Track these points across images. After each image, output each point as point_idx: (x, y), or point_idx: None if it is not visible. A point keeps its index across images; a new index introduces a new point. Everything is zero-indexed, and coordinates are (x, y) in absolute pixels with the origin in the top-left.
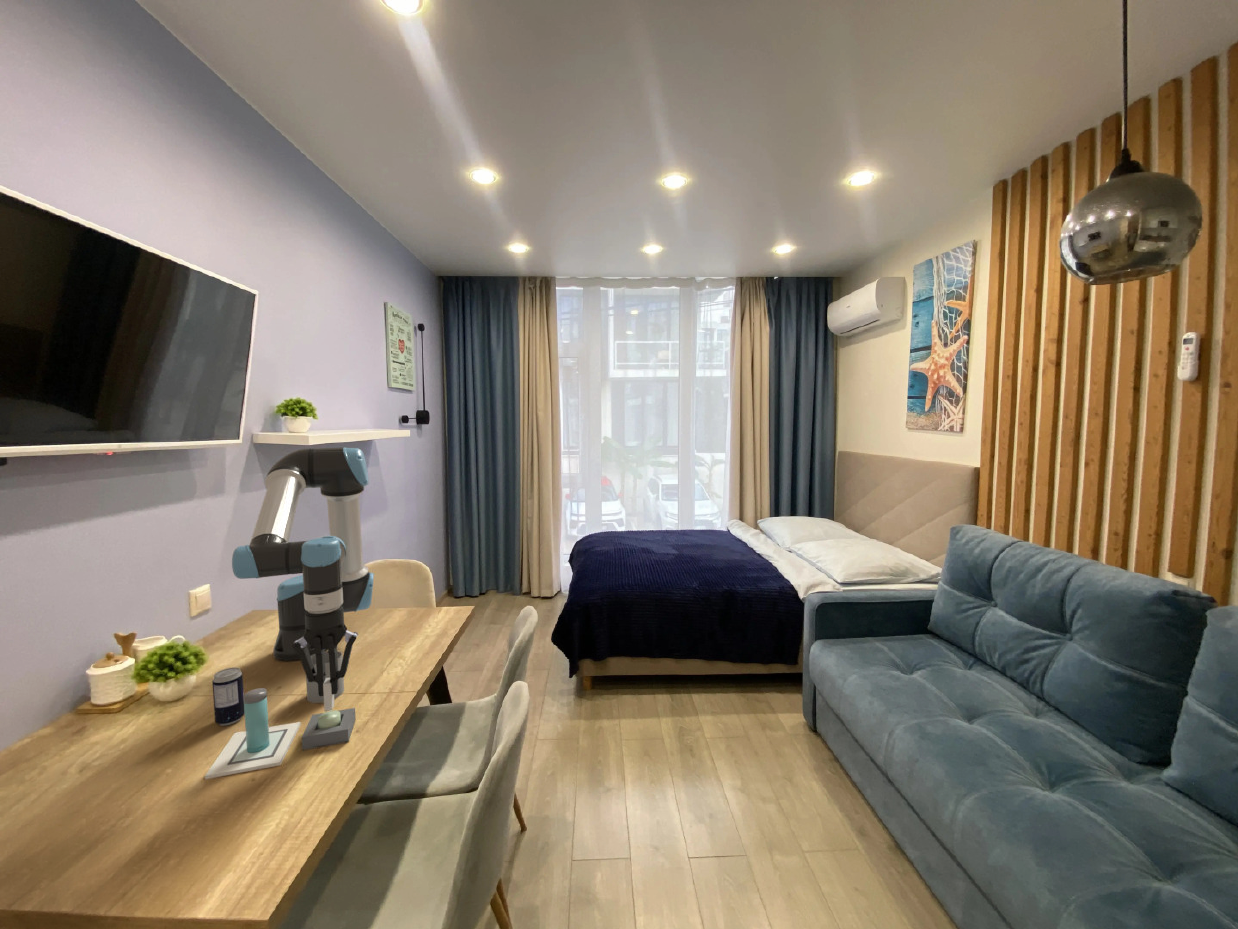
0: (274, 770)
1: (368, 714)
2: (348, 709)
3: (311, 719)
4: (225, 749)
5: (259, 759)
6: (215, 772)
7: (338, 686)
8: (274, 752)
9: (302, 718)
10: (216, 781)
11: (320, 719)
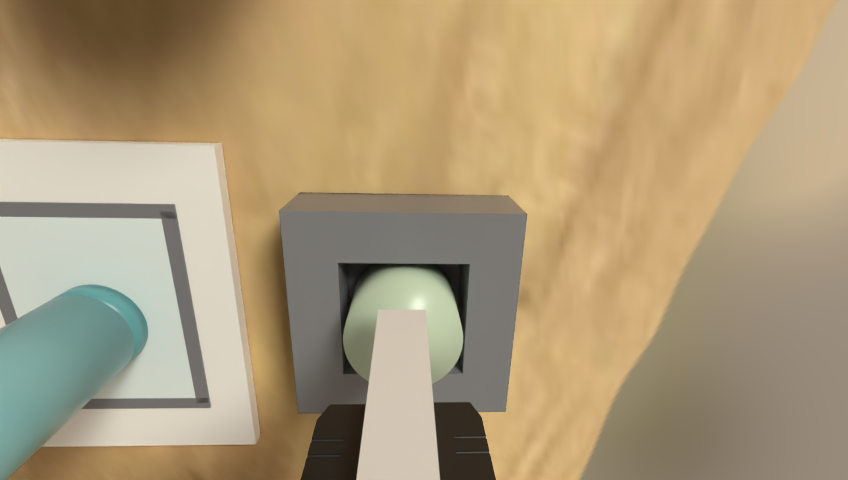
0: (250, 453)
1: (570, 159)
2: (490, 223)
3: (292, 266)
4: None
5: (159, 410)
6: None
7: (485, 438)
8: (201, 386)
9: (203, 64)
10: (59, 455)
11: (360, 362)
